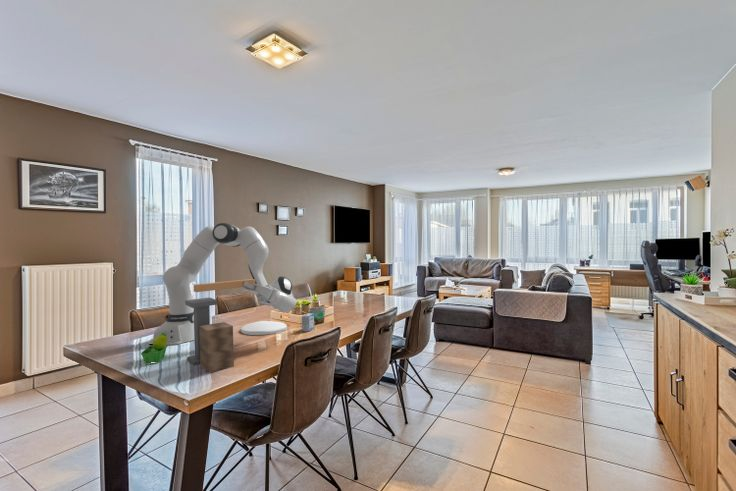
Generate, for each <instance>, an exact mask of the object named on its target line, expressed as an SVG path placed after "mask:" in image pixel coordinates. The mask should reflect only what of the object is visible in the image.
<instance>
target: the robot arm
mask: <svg viewBox="0 0 736 491" xmlns="http://www.w3.org/2000/svg"><path fill="white" fill-rule="evenodd" d="M220 244H222V245H225V246H228V247H233V248H235V247H237V248H238V247H240V246H241V247H242V249H243V250H244V252H245V254H246V257H247V260H248V270H249V273H250V275H251V277H252V278H251V279H255V284H250V283H248V282H243V285H244V286H246V287H240V288H241V289H242V290H244V291H245V292H247V293H250V294H252V295H255V296H256V297H257V300H258V302H259V303H262V304H263V305H265V306H267V307H271V308H273V309H274V310H277V311H280V312H282V313H290V312H291V311H293V310H294V309H295V307H296V305H297V299H296V298H295V296H294V294H293V290H292V289H293V284H292V282H291V280H290V279H289V278H287V277H285V276H278V277H277V278H276V279H274V280H273V281H272V282H271V283H270V284H269V283H268V281H267V280H266V278H265V275H264V272H263V270H264V269H263V268H264V265H265V262H266V261H267V259H268V256H269V253H270V250H269V247H268V244H267V243H266V241H265V239H264V238H263V237H262V236H261V234H260V233H259V231H257V230H256V229H255V227H252V226H245V227H243V228H239V227H238V226H235V225H233V224H230V223H227V222H220V223H218V224H216V225H215V226H209V225H208V226H205V227H204V228H203V229H202V230H201V231H200V232H198V234H197V235H196V236H195V237H194V239H192V241H191V243H189V245H188V247H186V249H185V250H184V253H183V255H182V257H181V259H180V260H179V262H178V264H177V265H174V266H171V267H170V268H168V269H166V271H165V272H164V273H163V275H162V282H163V283H164V285H165V287H166V291H167V295H168V302H169V304H168V305H169V313H167V314H166V315H165V316H164V319H165V322H163V323H162V324H161V325H159V326H158V327H156V329H155V330H154V332H153V336H152V338H150V340H148V342H147V344H148V343H149V344H153V341H154V340H155V339H156V338H157V337H159V336H160V335H161V334H166V336H167V346H168V345H170V346H172V345H175V346H176V345H181V344H184V343H187V342H192V341H194V309H193V308H191V307H189V306H187V305H185V300H192V299H194V297H193V295H192V290H191V287H190V284H191V283H193V282H194V281H195V279H196V277H197V276H198V274H199V272H200V270H201V269H202V267H203V266H204V264H205V262H206V261H207V260H208V258H209V257H210V256H211V254H212V253H213V252H214V250H215V249H216V248H217V246H218V245H220Z"/></svg>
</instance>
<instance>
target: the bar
mask: <svg viewBox="0 0 736 491" xmlns="http://www.w3.org/2000/svg"><path fill="white" fill-rule="evenodd" d="M243 282H248V283H250V284H255V279H253V278H249V279H238V280H229V281H216V282H205V283H197V284H195V283H194V284H193V292H194V293H200V292H201V293H202V292H209V291H211V292H212V291H220V290H229V289H237V288H238V289H239V288H241V287H246V286H244V285H243Z"/></svg>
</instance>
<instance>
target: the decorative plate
mask: <svg viewBox="0 0 736 491" xmlns="http://www.w3.org/2000/svg"><path fill="white" fill-rule="evenodd" d="M287 327H288V326H287V324H286V323H284V322H283V321H272V320H260V321H255V322H251V323H248V324H245V325H243V326H242V327H241V328H240V333H242V334H244V335H247V336H266V335H267V336H268V334H269V335H276V334H278V333H281V332H284V330H285V331H286V330H287Z"/></svg>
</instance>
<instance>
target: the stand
mask: <svg viewBox="0 0 736 491" xmlns="http://www.w3.org/2000/svg"><path fill="white" fill-rule="evenodd" d="M185 305H187V306H189V307H191V308H193V311H194V340H193V341H194V354H193V355H188V356H186V360H187V362H189V364H191V365H192V366H193V367H195V366H200V332H199V326H203V325H209V324H211V323H210V322H211V318H210V316H211V315H210V306H217V305H218V300H217V298H212V297H201V298H193V299H192V300H185Z"/></svg>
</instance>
